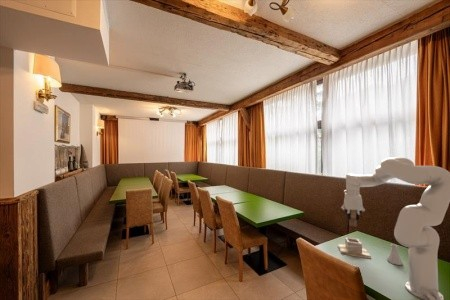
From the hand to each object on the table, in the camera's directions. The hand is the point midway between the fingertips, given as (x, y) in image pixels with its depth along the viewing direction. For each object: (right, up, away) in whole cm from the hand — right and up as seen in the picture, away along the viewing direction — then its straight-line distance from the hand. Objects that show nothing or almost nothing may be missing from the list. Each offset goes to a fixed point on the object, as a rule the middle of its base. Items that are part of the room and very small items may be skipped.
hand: (352, 219), depth 129 cm
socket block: (0, -22, 0) cm, 22 cm away
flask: (+17, -22, -13) cm, 30 cm away
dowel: (0, -4, 0) cm, 4 cm away
